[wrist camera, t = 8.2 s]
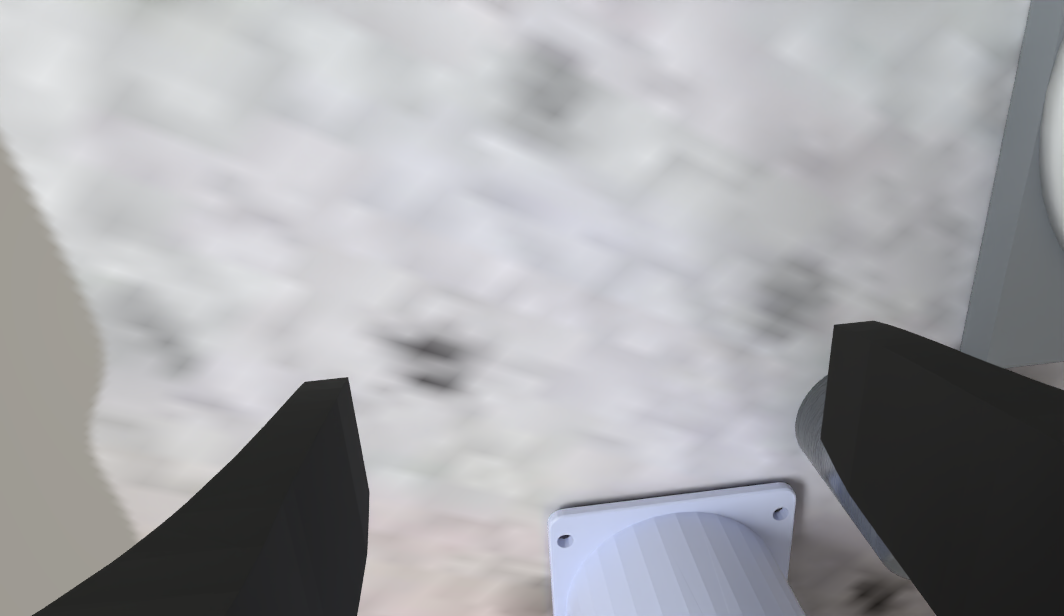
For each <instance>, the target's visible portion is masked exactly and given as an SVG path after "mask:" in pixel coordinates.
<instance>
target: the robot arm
mask: <svg viewBox="0 0 1064 616" xmlns="http://www.w3.org/2000/svg"><path fill="white" fill-rule="evenodd" d="M820 439H821V441H822V443H823V445H824V447H825V449H826V451H827V453H828V455H829V457H830V459H831V461H832V463H833V465H834V467H835V469H836V471H837V473H838V475H839V477H840V479H841V480H842V482H843V484H844V486H845V488H846V490H847V491H848V493H849V495H850V496H851V498H852V499H853V500H854V502H855V503H856V505H857V506H858V508H859V509H860V511H861V512H862V513H863V515H864V516H865V518H866V519H867V520H868V522H869V523H870V525H871V526H872V527H873V529H874V530H875V532H876V533H877V534H878V536H879V537H880V539H881V540H882V541H883V543H884V544H885V545H886V547H887V548H888V549H889V551H890V552H891V554H892V555H893V556H894V558H895V559H896V560H897V562H898V563H899V565H900V566H901V567H902V569H903V570H904V571H905V573H906V574H907V576H908V577H909V578H910V580H911V581H912V582H913V584H914V585H915V586H916V588H917V589H918V591H919V592H920V593H921V595H922V596H923V597H924V599H925V600H926V602H927V603H928V604H929V606H930V607H931V608H932V610H933V611H934V613H935V614H936V615H937V616H1064V390H1061V389H1058V388H1055V387H1052V386H1049V385H1047V384H1044V383H1041V382H1038V381H1036V380H1033V379H1030V378H1028V377H1025V376H1022V375H1020V374H1017V373H1014V372H1012V371H1009V370H1006V369H1004V368H1001V367H999V366H996V365H994V364H991V363H988V362H986V361H983V360H981V359H978V358H976V357H973V356H971V355H968V354H966V353H963V352H961V351H958V350H955V349H953V348H950V347H948V346H945V345H943V344H940V343H938V342H935V341H933V340H930V339H927V338H925V337H922V336H919V335H917V334H914V333H911V332H909V331H906V330H903V329H900V328H897V327H894V326H891V325H888V324H884V323H880V322H877V321H866V322H857V323H848V324H838V325H834V330H833V338H832V346H831V355H830V363H829V371H828V379H827V387H826V395H825V404H824V412H823V420H822V428H821V436H820ZM781 507H782V509H781V510H780V511H778V512H774V511H775V510H776V509H778V508H781ZM795 507H796V494H795V492H794V491H793V489H792V488H791V486H790V485H789V484H787V483H784V482H777V483H769V484H761V485H753V486H745V487H736V488H728V489H720V490H712V491H704V492H696V493H688V494H680V495H671V496H663V497H655V498H647V499H639V500H631V501H623V502H614V503H606V504H598V505H590V506H582V507H574V508H566V509H560V510H557V511H555V512H554V513H552V514H551V515H550V517H549V518H548V523H547V525H548V541H549V556H550V572H551V588H552V603H553V616H806V615H805V613H804V611H803V609H802V608H801V606H800V604H799V602H798V600H797V598H796V597H795V595H794V593H793V591H792V589H791V587H790V586H789V584H788V582H787V580H788V571H789V561H790V552H791V543H792V534H793V525H794V516H795ZM368 522H369V488H368V482H367V477H366V471H365V466H364V461H363V455H362V450H361V445H360V439H359V434H358V428H357V423H356V418H355V412H354V407H353V402H352V396H351V391H350V385H349V380H348V377H346V378H337V379H327V380H318V381H309V382H304V383H303V384H302V385H301V386H300V387H299V388H298V389H297V390H296V392H295V393H294V394H293V395H292V396H291V397H290V398H289V399H288V400H287V401H286V403H285V404H284V405H283V406H282V407H281V408H280V409H279V410H278V411H277V413H276V414H275V415H274V416H273V417H272V418H271V419H270V420H269V421H268V422H267V424H266V425H265V426H264V427H263V428H262V429H261V430H260V431H259V432H258V433H257V434H256V435H255V436H254V437H253V438H252V439H251V441H250V442H249V443H248V444H247V445H246V446H245V447H244V448H243V449H242V450H241V451H240V452H239V453H238V454H237V455H236V456H235V457H234V458H233V459H232V460H231V461H230V462H229V463H228V464H227V465H226V466H225V467H224V468H223V469H222V470H221V471H220V472H219V473H218V474H216V475H215V476H214V477H213V478H212V479H211V480H210V481H209V482H208V483H207V484H206V485H205V486H204V487H203V488H202V489H201V490H200V491H199V492H197V493H196V494H195V495H194V496H193V497H192V498H191V499H190V500H189V501H188V502H187V503H186V504H185V505H183V506H182V507H181V508H180V509H179V510H178V511H177V512H175V513H174V514H173V515H172V516H171V517H169V518H168V519H167V520H166V521H165V522H163V523H162V524H161V525H160V526H159V527H157V528H156V529H155V530H154V531H152V532H151V533H150V534H148V535H147V536H146V537H145V538H143V539H142V540H141V541H139V542H138V543H137V544H136V545H134V546H133V547H132V548H130V549H129V550H128V551H127V552H125V553H124V554H123V555H121V556H120V557H119V558H117V559H116V560H114V561H113V562H112V563H110V564H109V565H107V566H106V567H104V568H103V569H101V570H100V571H98V572H97V573H95V574H94V575H92V576H91V577H90V578H88V579H86V580H85V581H83V582H82V583H80V584H79V585H78V586H76V587H75V588H73V589H72V590H70V591H69V592H67V593H66V594H64V595H63V596H61V597H60V598H58V599H57V600H56V601H54V602H52V603H51V604H49V605H48V606H46V607H45V608H44V609H42V610H40V611H38V612H37V613H35V614H34V615H32V616H357V613H358V607H359V601H360V595H361V589H362V583H363V577H364V570H365V564H366V558H367V546H368ZM562 535H570V536H569V537H568V538H565V539H559V537H560V536H562Z"/></svg>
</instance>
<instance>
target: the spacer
mask: <svg viewBox="0 0 1064 616" xmlns="http://www.w3.org/2000/svg"><path fill="white" fill-rule="evenodd" d="M827 379H828V375H827V376H825V377H824V378H823V379H822V380H820V381H819V382H818V383H817V384H816V385H815V386H814V387H813V388H812V389H811V390H810V392H809V393H808V394H807V395H806V397H805V399H804V400H803V402H802V404H801V406H800V408H799V411H798V414H797V418H796V424H795V431H796V438H797V441H798V444H799V446H800V448H801V449H802V451H803V452H804V453H805V455H806V456H807V458H808V459H809V460H810V462H811V463H812V465H813V466H814V467H815V469H816V470H817V472H818V473H819V474H820V476H821V477H822V479H823V480H824V481H825V483H826V484H827V486H828V487H829V488H830V490H831V491H832V493H833V494H834V495H835V497H836V498H837V500H838V501H839V502H840V504H841V505H842V507H843V508H844V509H845V511H846V512H847V514H848V515H849V516H850V518H851V519H852V521H853V522H854V523H855V525H856V526H857V528H858V529H859V530H860V532H861V533H862V535H863V536H864V537H865V539H866V540H867V542H868V543H869V544H870V546H871V547H872V549H873V550H874V551H875V553H876V554H877V555H878V557H879V558H880V560H881V561H882V562H883V564H884V565H885V566H886V567H887V568H888V569H889V570H890V571H891V572H893V573H895V574H896V575H898V576H901V577H903V578H906V579H910V578H909V577H908V576H907V574H906V573H905V571H904V570H903V569H902V567H901V566H900V565H899V563H898V562H897V560H896V559H895V558H894V556H893V555H892V554H891V552H890V551H889V549H888V548H887V547H886V545H885V544H884V543H883V541H882V540H881V539H880V537H879V536H878V534H877V533H876V532H875V530H874V529H873V527H872V526H871V525H870V523H869V522H868V520H867V519H866V518H865V516H864V515H863V513H862V512H861V511H860V509H859V508H858V506H857V505H856V503H855V502H854V500H853V499H852V498H851V496H850V495H849V493H848V491H847V490H846V488H845V486H844V484H843V482H842V480H841V479H840V477H839V475H838V473H837V471H836V469H835V467H834V465H833V463H832V461H831V459H830V457H829V455H828V453H827V451H826V449H825V447H824V445H823V443H822V441H821V439H820V436H821V428H822V420H823V412H824V404H825V395H826V387H827Z"/></svg>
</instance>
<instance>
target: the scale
mask: <svg viewBox="0 0 1064 616" xmlns="http://www.w3.org/2000/svg"><path fill="white" fill-rule="evenodd" d="M960 351H961V352H963V353H966V354H968V355H971V356H973V357H976V358H978V359H981V360H983V361H986V362H988V363H991V364H994V365H996V366H999V367H1001V368H1011V367H1020V366H1029V365H1038V364H1047V363H1055V362H1064V0H1031V4H1030V9H1029V14H1028V19H1027V24H1026V29H1025V33H1024V38H1023V43H1022V48H1021V53H1020V58H1019V63H1018V68H1017V73H1016V78H1015V83H1014V87H1013V92H1012V97H1011V102H1010V107H1009V112H1008V117H1007V122H1006V127H1005V132H1004V137H1003V141H1002V146H1001V151H1000V156H999V161H998V166H997V171H996V176H995V181H994V186H993V190H992V195H991V200H990V205H989V210H988V215H987V220H986V225H985V230H984V235H983V240H982V244H981V249H980V254H979V259H978V264H977V269H976V274H975V279H974V284H973V289H972V294H971V298H970V303H969V308H968V313H967V318H966V323H965V328H964V333H963V338H962V343H961V347H960Z"/></svg>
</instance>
